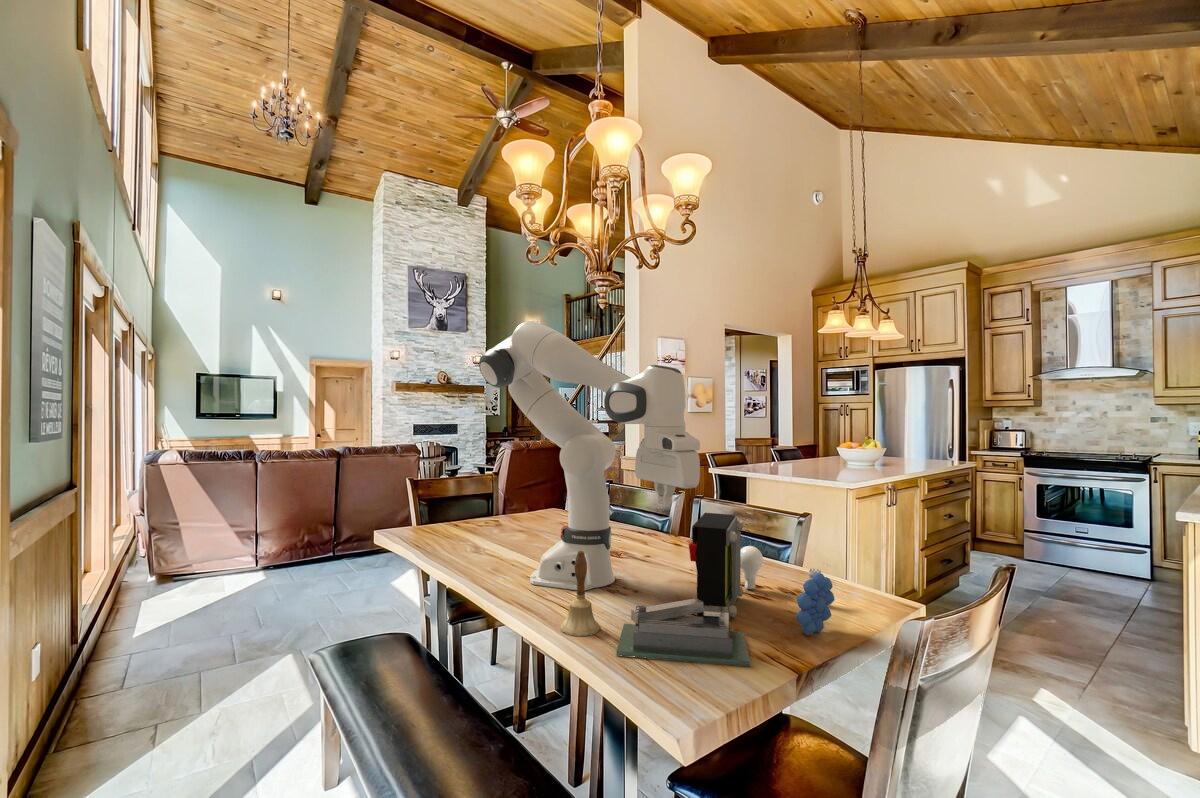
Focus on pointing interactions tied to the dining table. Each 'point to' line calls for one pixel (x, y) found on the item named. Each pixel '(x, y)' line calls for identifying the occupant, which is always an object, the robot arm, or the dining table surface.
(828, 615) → the grapes
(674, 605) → the grey metal bar
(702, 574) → the electrical component
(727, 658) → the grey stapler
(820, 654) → the dining table surface
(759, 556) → the lightbulb
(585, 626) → the hand bell
